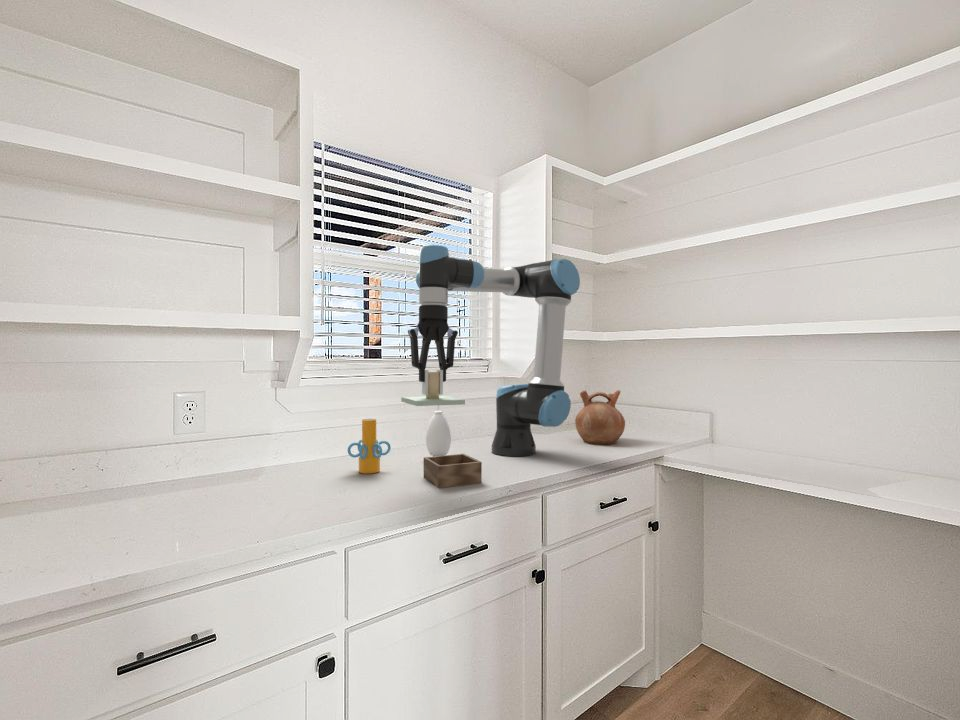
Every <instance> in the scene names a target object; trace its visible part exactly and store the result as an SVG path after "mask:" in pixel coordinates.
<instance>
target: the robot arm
mask: <svg viewBox="0 0 960 720" xmlns="http://www.w3.org/2000/svg"><path fill="white" fill-rule="evenodd" d="M418 264H419V266H418V267H419V269H418V271H417V272H416V273H415V274H416V275H415V282H416V285H417V288H418V290H419V293H418V295H419V296H418V298H419V299H418V303H419V304H420V306H418V323H417V325H416V327H414V328H409V329H408V330H407V334H408V336H409V339H410V341H409V342H410V356H411V359H410V360H411V367H413V368H416V369H417V370H418V381H419V382H420V383H421V387H422V388H421V395H423V396H426V395H428V372H429V369H427V361H428V358H429V357H428V356H429V350H430V345H431V342H432V341H434V344H435V345H436V346H435V348H436V353H437V360H438V366H439V369H436V372H439V396H444V393H443V392H444V390H443V389H444V383H445V382H446V381H447V370H448V369H450V368H452V367H454V360H455V349H456V348H455V345H456V338H457V337H458V333H459V332H458V331H457V330H453V329H452V328H450V326H449V324H448V314H449V313H448V309H449V308H448V306H446V305H448V303H449V294H448V293H449V292H469V293H470V292H476V293H502V294H504V295H505V296H508V297H509V296H511V297H521V298H530V299H531V298H532V299H533V298H534V301H535V302H536V303H537V304H538V317H537V329H536V330H537V331H536V342H535V355H534V367H533V368H534V369H533V377H532V379H530V381H529V382H528V383H523V384H513V385H512V384H511V385H501V386H499V387H498V388H497V390H496V397H495V399H496V400H495V403H496V404H495V405H496V407H495V408H496V410H495V411H496V430H495V434H494V436H493V441H492V443H491V453H492V454H494V455H498V456H503V457H504V456H505V457H509V456H510V457H523V456H524V457H525V456H526V457H527V456H531V455H534V454H536V451H537V450H536V449H537V448H536V447H537V446H536V443H535V440H534V436H533V434H532V429H531V426H532V425H533V426H534V425H535V426H541V427H547V428H548V427H550V428H555V427H556V428H557V427H559V426H560V425H562V424H563V423H564V422H565V421H566V420H567V418H568V417H569V415H570V411H571V408H572V407H571V406H572V403H571V402H572V401H571V398H570V396H569V394H568V393H567V392H566V391H565V385H564V383H563V382H562V380H561V372H562V361H563V359H562V358H563V347H564V346H563V345H564V333H565V320H566V319H565V317H566V309H567V308H566V307H567V306H569V304H571V303H572V302H571V301H572V295H574V294H576V293H577V292H578V290H579V289H580V285H581V281H580V280H581V278H580V277H581V276H580V273H579V271H578V268H577V267H576V265H575V264H574V263H573V262H572V261H571V260H569V259H566V258H559V259H558V258H555V259H551V260H545V261H539V262H535V263H530V264H524V265H520V266H508V267H507V266H506V267H505V268H504V269H503V268H502V269H500V268H487V267H485V268H484V266H483V265H482V264H481V263H480V262H478V261H475V260H472V259H465V258H459V257H454V256H450V254H449V248H448V247H447V246H445V245H441V244H427V245H423V246H421V248H420V250H419V261H418ZM446 334H447V337H448V338H447V343H446V344H447V345H446V350H445V346H444V345H445V338H444V337H445V336H446ZM419 335H420V336H421V337H422V340H421V344H422V345H421V348H420V349H421V350H420V355H419V340H418V338H419V337H418V336H419ZM445 351H446V352H445Z"/></svg>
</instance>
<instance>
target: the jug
mask: <svg viewBox="0 0 960 720" xmlns="http://www.w3.org/2000/svg"><path fill="white" fill-rule="evenodd" d="M620 394H621V390H619V389H617V390H616V391H615V392H614V393H608V394H607V393H606V392H602V391H596V392H594V393H592V394H590V395H589V394H588V392H587V390H581V392H580V393H579V395H580V398H581V400H582V403H583V407H582V408H581V409H580V411H579V412H578V413H577V415H576V417H575V421H574V423H575V429H576V431H577V433H578V435H579V436H580V438H581V439H582V441H583V442H584V443H585V444H589V445H597V446H610V445H614V444H616V443H617V442H618V440H619V439H620V438H621V437H622V435H623V434H624V431H625V427H626V420H625V418H624V416H623V414H622V412H620V410H618V408H617V407H616V404H617V401H618V399H619V397H620ZM599 396H600V397H602V398H605V399H607V401H605V402H604V401H593V399H594V398H596V397H599Z"/></svg>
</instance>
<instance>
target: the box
mask: <svg viewBox="0 0 960 720" xmlns="http://www.w3.org/2000/svg"><path fill="white" fill-rule="evenodd" d="M482 464H483V463H482V461H480V460H478V459H475V458H474V457H471V456H470V455H467V454H465V453H456V454H446V455H444V456H434V457H433V456H425V457H423V478H424V479H425V478H426V479H425V480H427V481H428V482H429V481H430V482H429V483H431V484H432V483H433V484H432V485H434V486H435V487H436V486H437V487H436V488H438V489H442V488H443V489H444V488H448V487H449V488H451V486H452V487H458V486H459V487H460V486H467V485H476V484H482V476H483V475H482V474H483V473H482V468H483V467H482Z"/></svg>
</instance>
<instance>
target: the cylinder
mask: <svg viewBox="0 0 960 720" xmlns="http://www.w3.org/2000/svg"><path fill="white" fill-rule="evenodd" d="M382 444H384V445H385V444H386V445H387V450H386V451H384V452H383V448H382V446H381V445H382ZM353 446H356V447H357V451H358V453H356V454H354V453H352V452H351V449H352V448H353ZM391 449H392V448H391V444H390V442H388V441H387V440H381V441H378V439H377V419H376V418H364V419H362V420H361V439H360V440H359V441H358V442H351V443H350V444H349V445H348V447H347V454H348V455H349V456H350V457H352V458H358V472H359V473H360V474H366V475H368V474H369V475H370V474H377V473H379V472H380V470H381V457H382V456H386V455H388V454H389V453H390V451H391Z"/></svg>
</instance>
